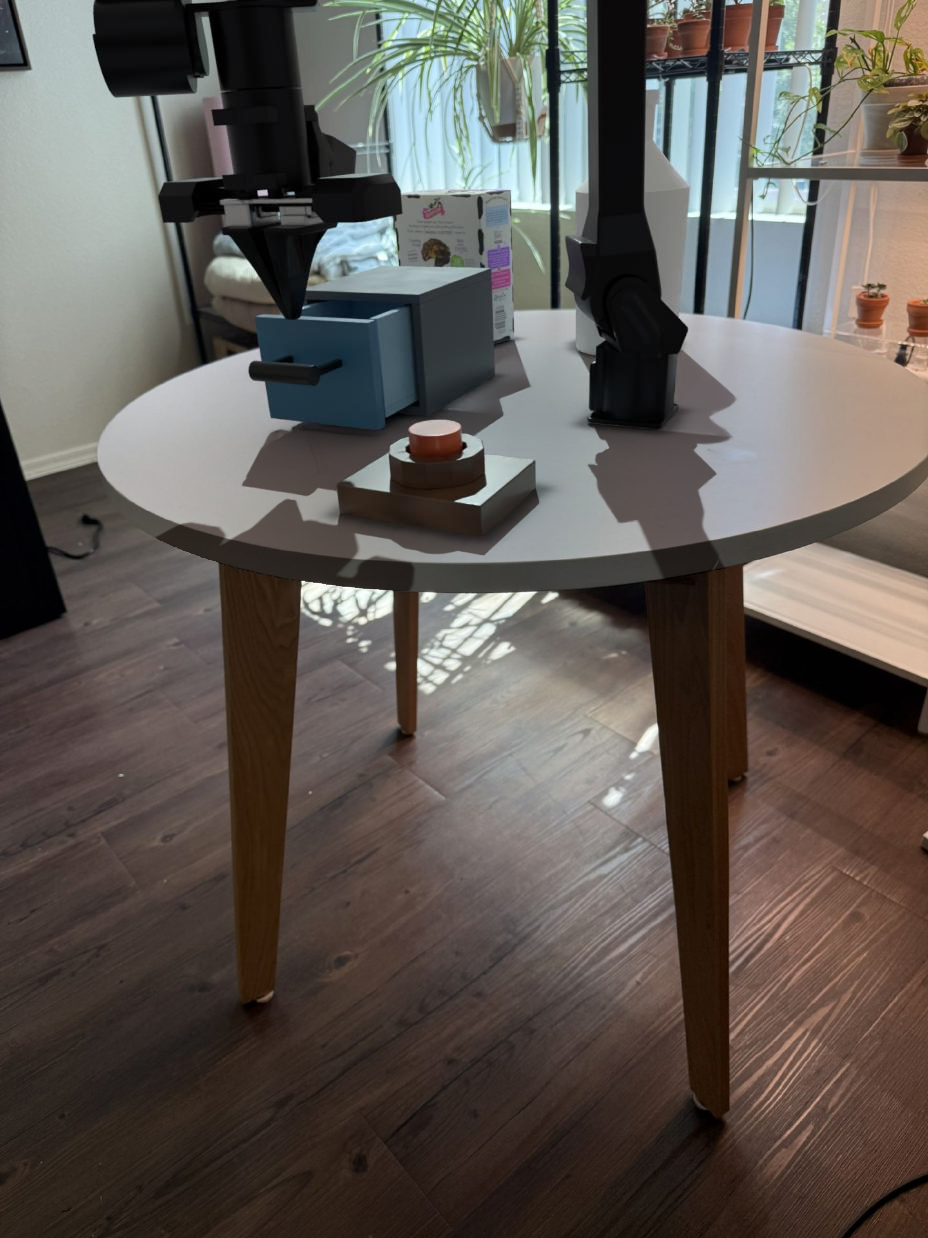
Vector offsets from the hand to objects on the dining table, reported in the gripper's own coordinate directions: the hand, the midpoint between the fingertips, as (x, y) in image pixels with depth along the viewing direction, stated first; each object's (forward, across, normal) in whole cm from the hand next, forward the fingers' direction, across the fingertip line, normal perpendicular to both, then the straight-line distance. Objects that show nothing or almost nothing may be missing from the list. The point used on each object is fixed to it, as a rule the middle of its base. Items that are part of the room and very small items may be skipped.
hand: (293, 318), depth 70 cm
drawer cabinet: (+10, 0, -17) cm, 20 cm away
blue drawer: (+9, 0, -7) cm, 11 cm away
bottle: (+10, -15, -41) cm, 45 cm away
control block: (+10, -17, +8) cm, 21 cm away
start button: (+7, -17, +8) cm, 20 cm away
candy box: (+10, +6, -40) cm, 42 cm away
